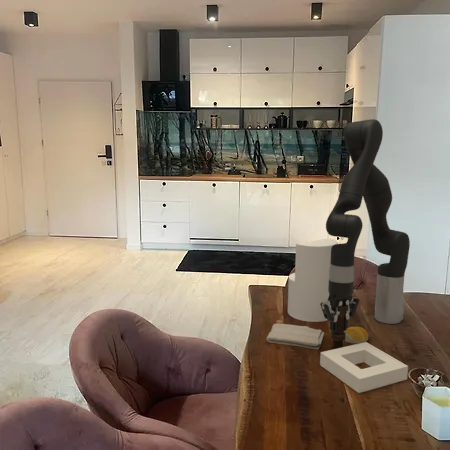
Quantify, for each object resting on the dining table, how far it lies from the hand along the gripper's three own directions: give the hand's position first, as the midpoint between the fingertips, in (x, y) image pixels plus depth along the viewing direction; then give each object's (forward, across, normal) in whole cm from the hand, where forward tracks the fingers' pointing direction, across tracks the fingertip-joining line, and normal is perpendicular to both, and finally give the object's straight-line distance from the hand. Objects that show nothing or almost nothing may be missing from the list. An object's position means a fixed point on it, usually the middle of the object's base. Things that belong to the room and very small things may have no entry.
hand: (338, 330), depth 151 cm
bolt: (+6, 0, 0) cm, 6 cm away
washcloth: (+7, +8, -12) cm, 16 cm away
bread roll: (+7, -10, -4) cm, 13 cm away
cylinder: (+6, -10, -29) cm, 31 cm away
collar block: (+6, +3, +15) cm, 16 cm away
